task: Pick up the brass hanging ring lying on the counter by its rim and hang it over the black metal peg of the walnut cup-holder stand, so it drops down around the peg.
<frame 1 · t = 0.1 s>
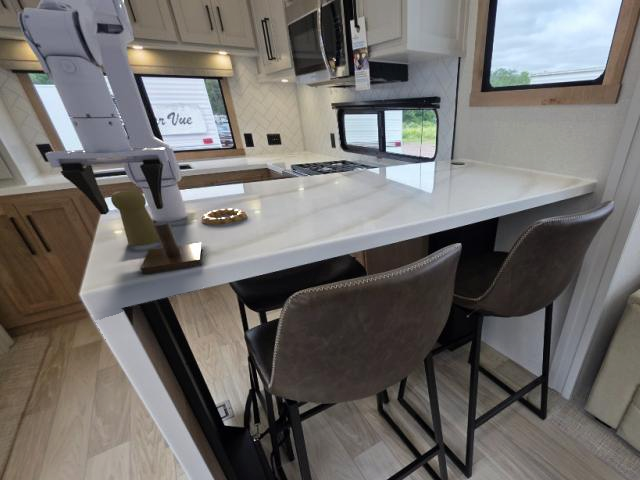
hand: (133, 210, 55), 10 cm above the table, tool pointing down, fingers open, 7 cm apart
holder: (175, 260, 62), on the table
cork: (147, 246, 68), on the table
ring: (224, 218, 81), point 1 cm above the table
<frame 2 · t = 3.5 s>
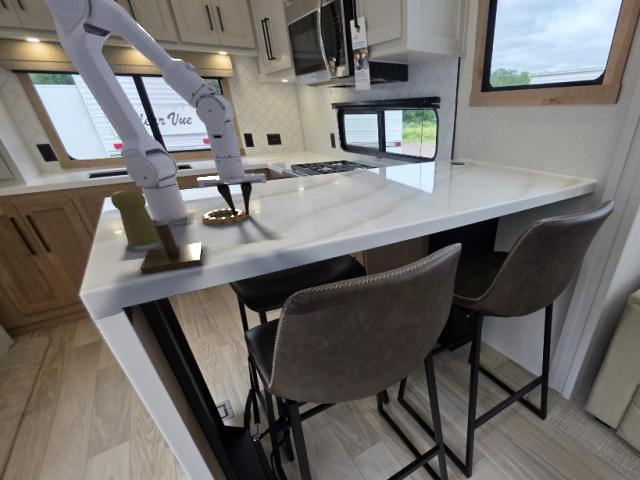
hand: (241, 214, 82), 1 cm above the table, tool pointing down, fingers closed on ring, 2 cm apart
ring: (225, 217, 81), point 1 cm above the table, touching gripper
everything else where it was.
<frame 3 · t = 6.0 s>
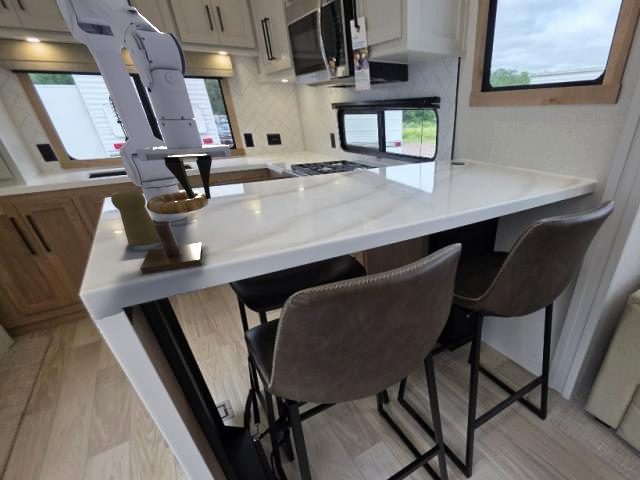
hand: (200, 198, 64), 9 cm above the table, tool pointing down, fingers closed on ring, 2 cm apart
ring: (178, 202, 63), point 9 cm above the table, touching gripper
everything else where it was.
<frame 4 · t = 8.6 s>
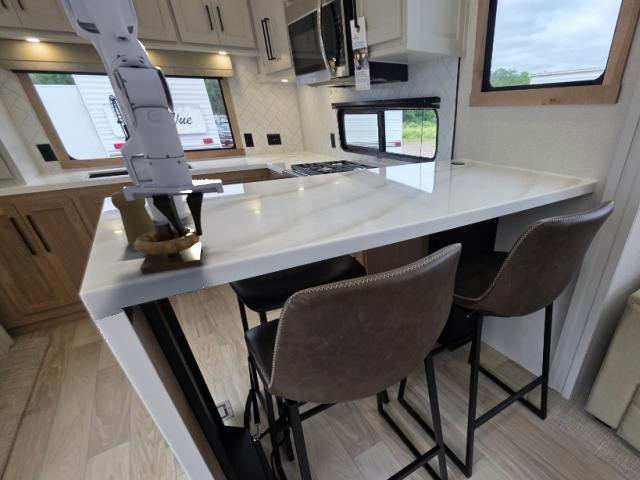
hand: (191, 235, 61), 4 cm above the table, tool pointing down, fingers closed on ring, 2 cm apart
ring: (168, 240, 60), point 4 cm above the table, touching gripper
everything else where it was.
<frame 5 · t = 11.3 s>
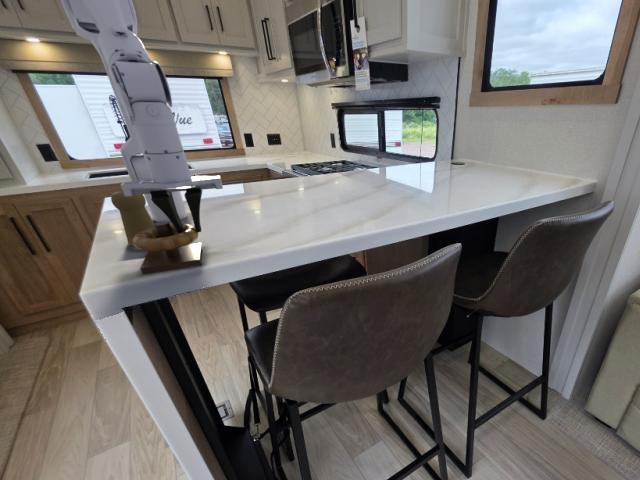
hand: (190, 231, 61), 5 cm above the table, tool pointing down, fingers closed on ring, 2 cm apart
ring: (167, 236, 60), point 5 cm above the table, touching gripper
everything else where it was.
when the fingers open (6 cm above the table, at t = 13.9 s): ring drops 2 cm, resting on holder.
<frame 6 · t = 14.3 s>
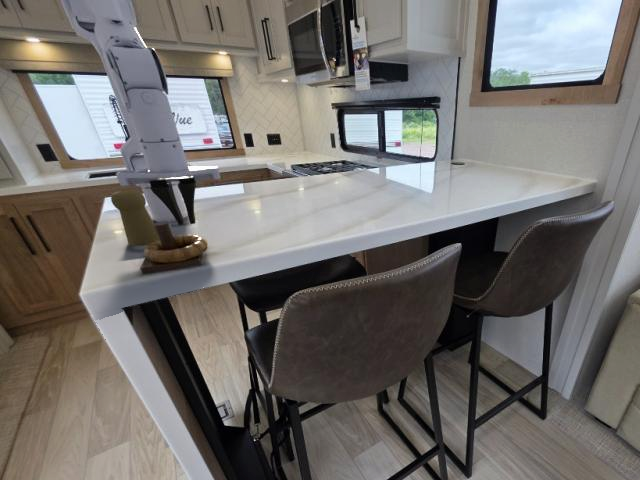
hand: (187, 222, 60), 7 cm above the table, tool pointing down, fingers closed
ring: (177, 248, 61), point 2 cm above the table, touching holder
everything else where it was.
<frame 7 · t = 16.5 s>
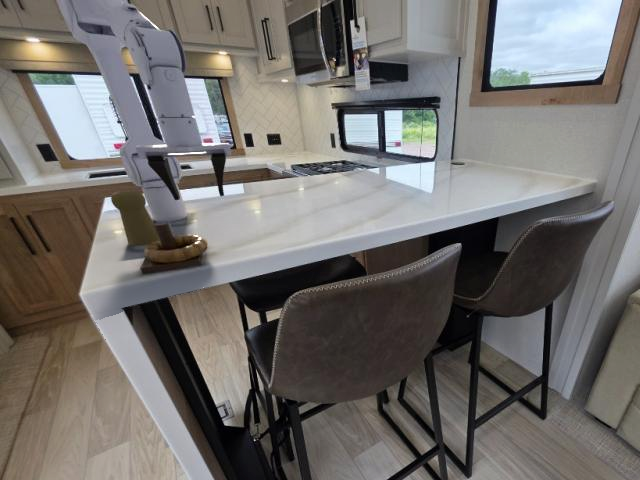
hand: (200, 196, 64), 10 cm above the table, tool pointing down, fingers open, 7 cm apart
nothing on the table moved.
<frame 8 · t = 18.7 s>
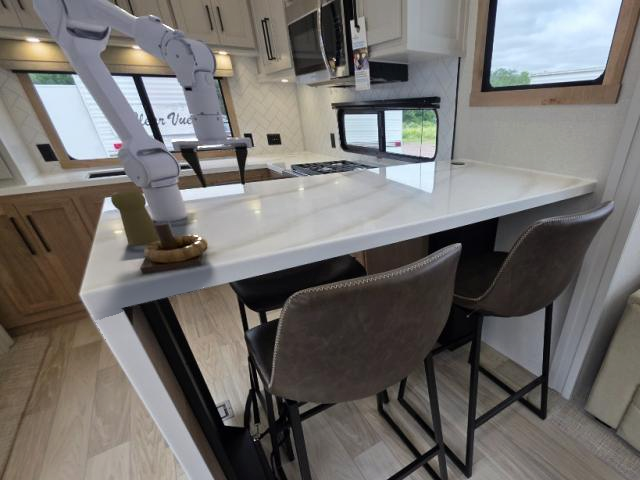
hand: (224, 185, 73), 10 cm above the table, tool pointing down, fingers open, 7 cm apart
nothing on the table moved.
at the end: ring 0.9 cm from the holder (horizontally); ring point 2.3 cm above the table; the gripper is holding nothing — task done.
